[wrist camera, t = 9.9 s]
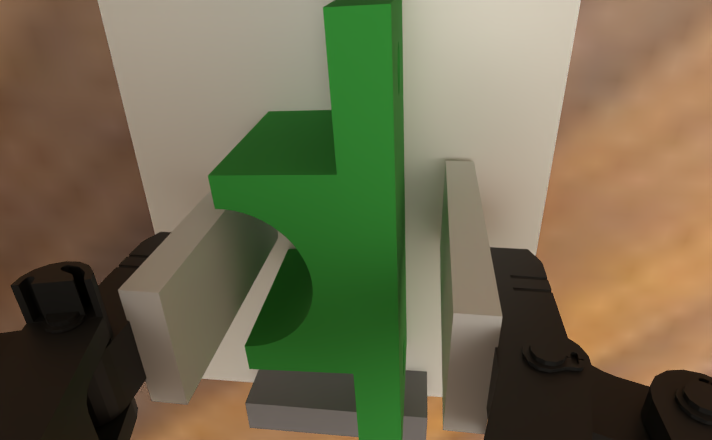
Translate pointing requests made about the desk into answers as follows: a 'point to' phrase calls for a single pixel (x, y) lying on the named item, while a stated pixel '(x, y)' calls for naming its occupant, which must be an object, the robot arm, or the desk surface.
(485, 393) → the robot arm
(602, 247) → the desk surface
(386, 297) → the pipe clamp
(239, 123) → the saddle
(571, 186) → the desk surface
